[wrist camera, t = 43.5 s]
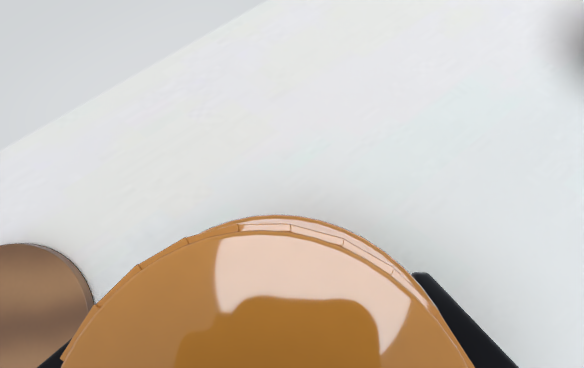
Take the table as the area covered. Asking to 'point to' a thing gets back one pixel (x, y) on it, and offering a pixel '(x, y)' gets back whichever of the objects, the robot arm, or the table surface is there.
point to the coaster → (38, 303)
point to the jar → (267, 305)
